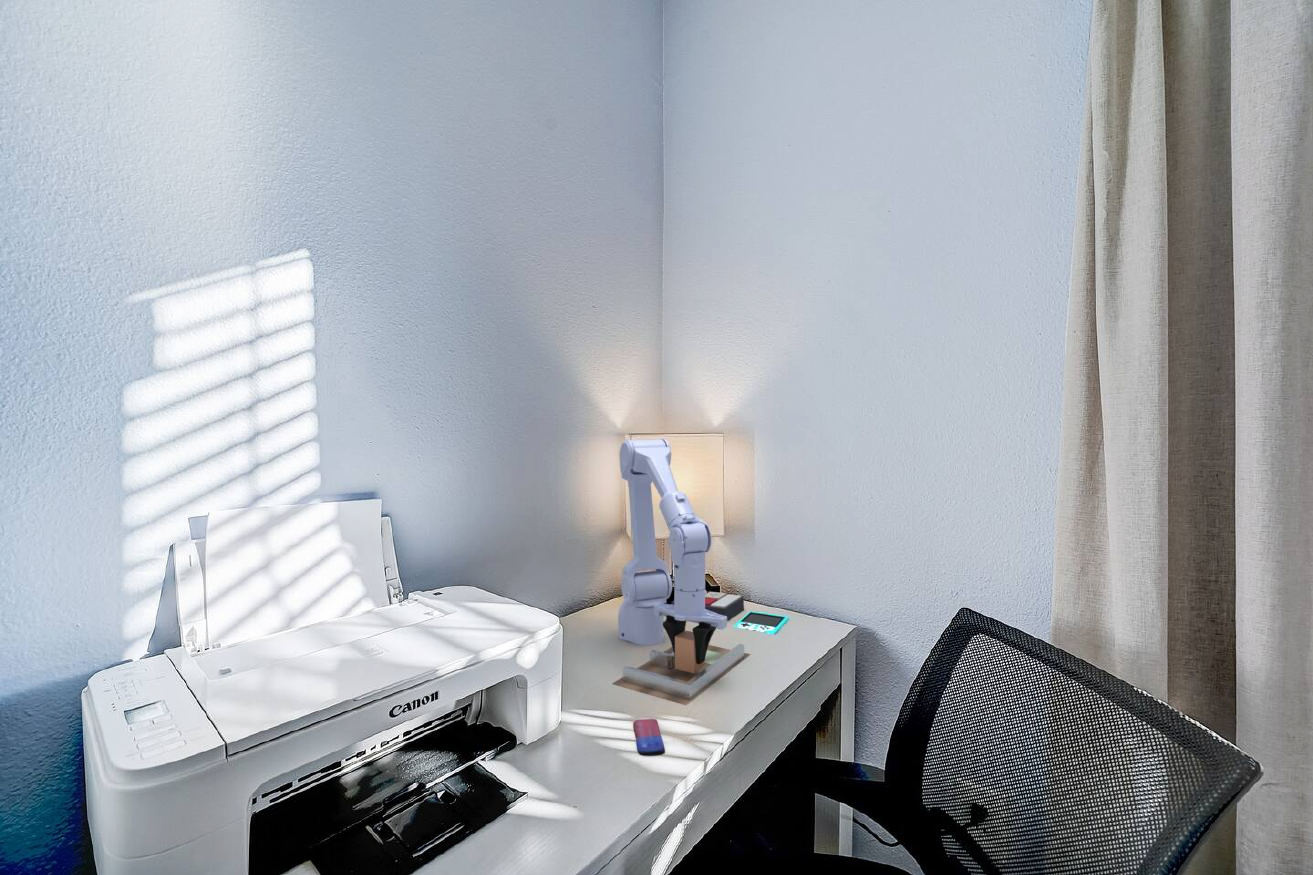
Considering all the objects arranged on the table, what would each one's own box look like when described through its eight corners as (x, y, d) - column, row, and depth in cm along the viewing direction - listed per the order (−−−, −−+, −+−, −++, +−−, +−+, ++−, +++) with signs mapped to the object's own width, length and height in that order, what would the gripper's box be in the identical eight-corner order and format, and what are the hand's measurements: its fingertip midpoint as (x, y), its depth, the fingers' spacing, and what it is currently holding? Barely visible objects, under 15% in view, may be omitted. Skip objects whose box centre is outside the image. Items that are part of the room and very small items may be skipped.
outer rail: (622, 680, 116) (622, 667, 116) (683, 643, 135) (683, 631, 134) (689, 699, 109) (689, 685, 108) (744, 656, 127) (744, 644, 127)
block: (674, 668, 118) (674, 636, 118) (685, 661, 121) (685, 630, 121) (693, 673, 116) (693, 640, 116) (704, 665, 119) (704, 634, 119)
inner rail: (649, 664, 124) (649, 651, 124) (683, 643, 135) (683, 631, 134) (671, 669, 121) (671, 656, 121) (704, 647, 132) (704, 635, 132)
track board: (612, 689, 115) (611, 683, 115) (684, 643, 137) (684, 638, 137) (686, 710, 107) (686, 704, 107) (750, 658, 128) (750, 653, 128)
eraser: (631, 726, 102) (631, 716, 102) (656, 725, 103) (656, 714, 103) (637, 764, 91) (637, 752, 91) (666, 762, 91) (666, 749, 91)
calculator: (691, 588, 168) (744, 593, 160) (692, 604, 168) (744, 610, 160) (670, 598, 158) (725, 605, 150) (671, 616, 158) (726, 623, 150)
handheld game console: (726, 636, 143) (726, 630, 143) (749, 615, 157) (749, 609, 157) (769, 643, 138) (769, 637, 138) (789, 621, 153) (789, 615, 153)
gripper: (645, 586, 119) (645, 658, 119) (714, 599, 111) (714, 675, 111) (665, 578, 124) (665, 646, 125) (732, 589, 117) (732, 662, 117)
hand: (689, 659), depth 119 cm, fingers closed on block, 4 cm apart
